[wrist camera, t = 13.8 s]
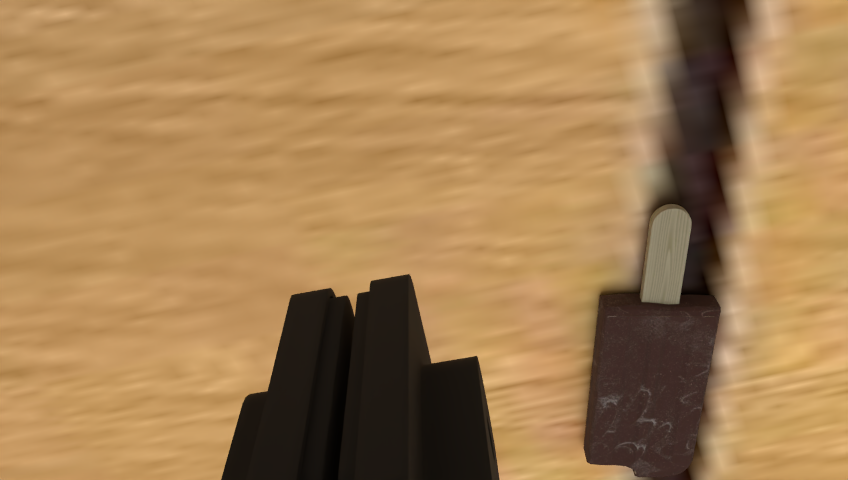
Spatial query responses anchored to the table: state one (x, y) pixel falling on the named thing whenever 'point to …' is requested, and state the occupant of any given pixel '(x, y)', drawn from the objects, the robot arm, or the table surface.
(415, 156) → the table surface
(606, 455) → the ice cream bar
